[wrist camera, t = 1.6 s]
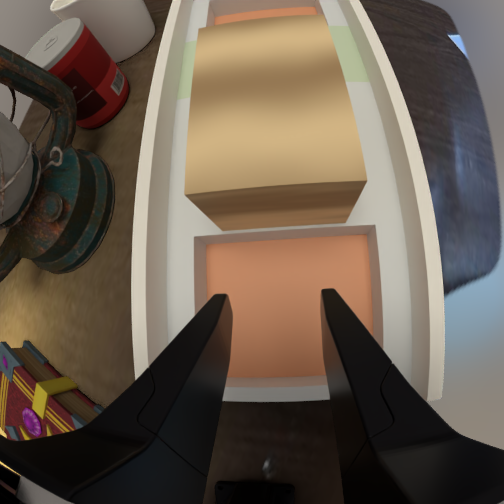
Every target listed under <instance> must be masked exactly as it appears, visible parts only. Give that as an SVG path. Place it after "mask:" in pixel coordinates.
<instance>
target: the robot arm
mask: <svg viewBox="0 0 504 504" xmlns="http://www.w3.org/2000/svg"><path fill="white" fill-rule="evenodd" d="M320 315H321V331H322V349H323V360H324V366H325V372H326V377H327V383H328V389H329V395H330V401H331V407H332V414H333V420H334V427H335V433H336V440H337V447H338V454H339V462H340V470H341V478H342V486H343V495H344V504H504V450H502V449H499V448H496V447H493V446H490V445H487V444H484V443H481V442H479V441H476V440H473V439H470V438H468V437H465V436H463V435H461V434H459V433H458V432H456V431H455V430H454V429H452V428H451V427H450V426H449V425H448V424H447V423H446V422H445V421H444V420H443V419H442V418H441V417H440V416H439V415H438V414H437V413H436V411H434V410H433V408H432V407H431V406H430V405H429V404H428V403H427V402H426V401H425V400H424V399H423V398H422V397H421V396H420V395H419V394H418V392H417V391H416V390H415V389H414V388H413V387H412V386H411V385H410V384H409V382H408V381H407V380H406V379H405V377H404V376H403V375H402V374H401V372H400V371H399V370H398V368H397V367H396V366H395V364H394V363H392V361H391V359H390V358H389V357H388V355H387V354H386V353H385V351H384V350H383V349H382V348H381V346H380V345H379V344H378V342H377V341H376V340H375V339H374V337H373V336H372V335H371V333H370V332H369V331H368V330H367V328H366V327H365V326H364V324H363V323H362V322H361V321H360V319H359V318H358V317H357V316H356V314H355V313H354V312H353V311H352V309H351V308H350V307H349V306H348V304H347V303H346V302H345V301H344V299H343V298H342V297H341V296H340V294H339V293H338V292H337V291H336V290H335V289H334V288H326V289H322V290H321V300H320ZM232 326H233V312H232V308H231V304H230V300H229V296H228V294H226V293H221V294H214V295H213V296H212V297H211V298H210V299H209V300H208V301H207V303H206V304H205V305H204V306H203V307H202V308H201V309H200V310H199V311H198V312H197V314H196V315H195V316H194V317H193V318H192V319H191V320H190V321H189V322H188V323H187V325H186V326H185V327H184V328H183V329H182V330H181V331H180V332H179V333H178V334H177V336H176V337H175V338H174V339H173V340H172V341H171V342H170V343H169V344H168V346H167V347H166V348H165V349H164V350H163V351H162V352H161V353H160V354H159V355H158V357H157V358H156V359H155V360H154V361H153V362H152V363H151V364H150V365H149V368H147V369H146V370H145V371H144V372H143V373H142V374H141V375H140V376H139V377H138V378H137V379H136V380H135V381H134V382H133V383H132V385H131V386H130V387H129V388H127V389H126V390H125V391H124V392H123V393H122V394H121V395H120V396H119V397H118V398H117V399H116V400H114V401H113V402H112V403H111V404H110V405H109V406H108V407H107V408H105V409H104V410H103V411H102V412H101V413H100V414H99V415H97V416H96V417H95V418H94V419H93V420H92V421H90V422H89V423H88V424H86V425H85V426H83V427H81V428H79V429H76V430H73V431H69V432H65V433H60V434H55V435H50V436H45V437H40V438H35V439H29V440H22V441H14V440H9V439H7V438H5V437H4V436H2V435H1V434H0V461H1V462H2V463H4V464H5V465H7V466H8V467H9V468H11V469H12V470H14V471H15V472H17V473H18V474H20V475H21V476H20V475H18V474H17V473H15V472H13V471H11V470H10V469H8V468H6V467H4V466H3V465H1V464H0V504H202V503H203V498H204V492H205V487H206V482H207V478H206V477H208V471H209V466H210V461H211V456H212V451H213V446H214V441H215V436H216V431H217V426H218V420H219V415H220V410H221V405H222V400H223V395H224V390H225V385H226V380H227V375H228V370H229V364H230V355H231V341H232ZM219 486H222V487H223V488H221V487H219ZM286 489H290V491H286ZM294 492H295V488H294V486H292V485H289V484H286V485H278V484H258V483H240V482H239V483H233V482H222V481H219V482H217V483H216V485H215V495H216V503H217V504H294Z"/></svg>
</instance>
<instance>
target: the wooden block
mask: <svg viewBox="0 0 504 504" xmlns="http://www.w3.org/2000/svg"><path fill="white" fill-rule="evenodd" d="M367 181H368V180H367V174H366V169H365V163H364V158H363V153H362V148H361V143H360V139H359V134H358V130H357V125H356V121H355V117H354V112H353V108H352V104H351V101H350V97H349V93H348V89H347V86H346V82H345V78H344V75H343V71H342V68H341V65H340V61H339V58H338V55H337V52H336V49H335V46H334V43H333V40H332V37H331V34H330V31H329V28H328V25H327V23H326V20H325V17H324V15H294V16H279V17H268V18H259V19H251V20H243V21H236V22H230V23H224V24H219V25H213V26H208V27H203V28H199V29H198V37H197V44H196V52H195V60H194V69H193V78H192V87H191V97H190V108H189V120H188V134H187V148H186V166H185V187H184V195H185V196H186V197H187V198H188V199H189V200H190V201H191V202H192V203H193V204H194V205H195V206H196V207H198V208H199V209H200V210H201V211H202V212H203V213H204V214H205V215H206V216H207V217H208V218H209V219H210V220H211V221H212V222H213V223H214V224H215V225H217V226H218V227H219V228H220V229H221V230H222V231H232V230H246V229H259V228H274V227H289V226H304V225H320V224H338V223H346V221H347V219H348V218H349V216H350V214H351V212H352V210H353V208H354V206H355V204H356V202H357V200H358V198H359V196H360V195H361V193H362V191H363V189H364V187H365V185H366V183H367Z"/></svg>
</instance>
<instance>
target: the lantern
mask: <svg viewBox="0 0 504 504" xmlns="http://www.w3.org/2000/svg"><path fill="white" fill-rule="evenodd" d="M0 83H2V84H4V85H6V86H8V87H9V89H10V91H11V93H12V97H13V108H12V115H11V118H10V120H8V118H7V117H6V116H5V115H4V114H3V113H1V112H0V230H1V229H2V228H6V233H7V236H6V238H5V240H4V242H3V244H2V245H1V246H0V282H1V281H2V280H3V279H4V278H5V277H6V276H7V275H8V274H9V273H10V271H11V270H12V269H13V268H14V267H15V266H16V265H17V264H18V263H19V261H20V260H21V258H27V259H31V260H32V261H33V262H34V263H35V264H36V265H37V266H38V267H40V268H42V269H45V270H47V271H49V272H51V273H55V274H62V273H68V272H71V271H74V270H75V269H77V268H78V267H80V266H81V265H82V264H84V263H85V262H86V261H87V260H88V259H89V258H90V257H91V255H92V254H93V253H94V251H95V250H96V249H97V248H98V246H99V245H100V244H101V242H102V239H103V237H104V235H105V233H106V231H107V229H108V226H109V223H110V220H111V217H112V211H113V206H114V201H115V195H114V179H113V177H112V174H111V171H110V169H109V166H108V165H107V163H106V162H105V161H104V160H103V159H102V158H101V157H99V156H98V155H96V154H93V153H92V152H89V151H85V150H80V149H78V150H75V149H74V148H73V147H72V145H71V144H72V141H73V137H74V134H75V128H76V118H77V107H76V100H75V98H74V95H73V93H72V90H71V88H70V87H69V86H67V85H66V84H65V83H64V82H63V81H62V80H60V79H59V78H58V77H57V76H55V75H53V74H52V73H50V72H48V71H47V70H45V69H43V68H41V67H40V66H38V65H36V64H34V63H32V62H31V61H29V60H27V59H25V58H23V57H22V56H20V55H18V54H16V53H14V52H12V51H11V50H9V49H7V48H5V47H3V46H1V45H0ZM14 90H16V91H18V92H20V93H22V94H24V95H26V96H28V97H30V98H32V99H34V100H36V101H38V102H40V103H41V104H43V105H44V106H45V107H47V108H48V109H49V110H50V111H49V113H48V115H47V118H46V120H45V122H44V124H43V125H42V127H41V129H40V130H39V132H38V134H37V135H36V137H35V139H34V141H33V142H31V143H30V144H29V143H28V141H27V140H26V139H25V138H23V137H22V135H21V134H20V132H19V131H18V129H17V127H16V126H15V125H14V124H13V123H12V121H13V118H14V114H15V106H16V105H15V104H16V97H15V91H14ZM51 112H52V119H53V123H52V127H51V131H50V135H49V139H48V143H47V146H45V147H43V148H42V149H40V150H39V151H38V152H37V151H36V141H37V139H38V137H39V136H40V134H41V132H42V131H43V129H44V127H45V126H46V124H47V123H48V121H49V119H50V115H51ZM32 147H33V149H32ZM31 152H33V153H34V155H33V154H32V153H31ZM2 224H3V225H5V226H3V225H2Z"/></svg>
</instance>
